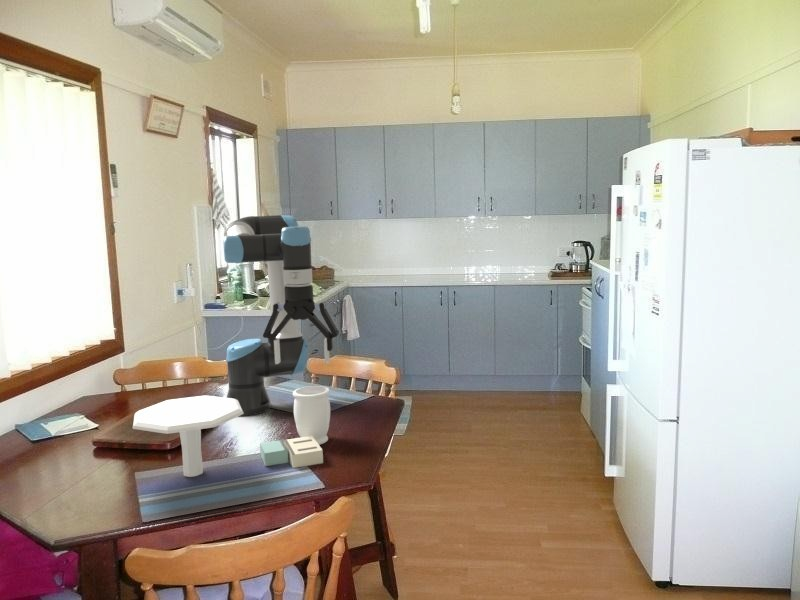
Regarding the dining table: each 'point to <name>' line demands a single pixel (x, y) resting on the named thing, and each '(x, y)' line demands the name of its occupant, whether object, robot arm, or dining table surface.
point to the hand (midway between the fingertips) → (302, 362)
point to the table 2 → (188, 423)
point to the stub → (274, 452)
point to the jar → (312, 412)
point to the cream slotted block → (303, 451)
